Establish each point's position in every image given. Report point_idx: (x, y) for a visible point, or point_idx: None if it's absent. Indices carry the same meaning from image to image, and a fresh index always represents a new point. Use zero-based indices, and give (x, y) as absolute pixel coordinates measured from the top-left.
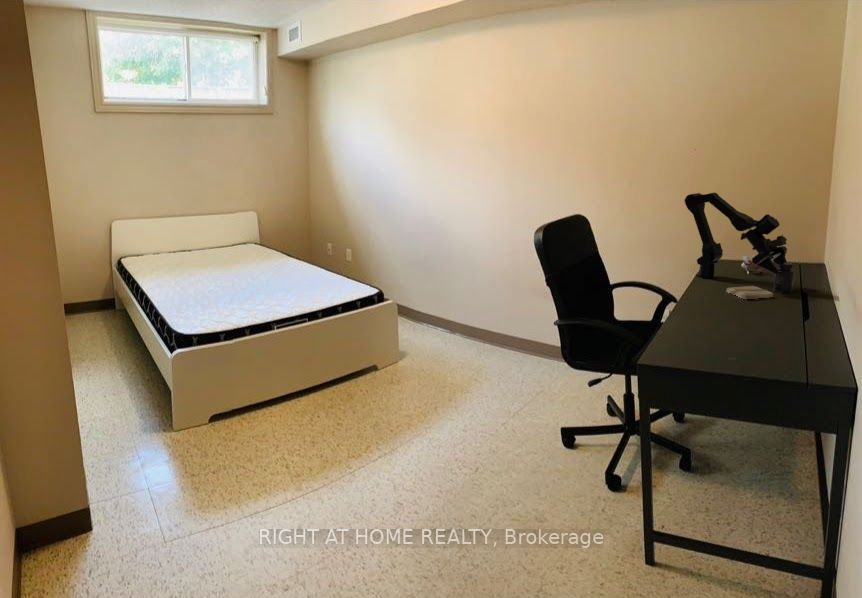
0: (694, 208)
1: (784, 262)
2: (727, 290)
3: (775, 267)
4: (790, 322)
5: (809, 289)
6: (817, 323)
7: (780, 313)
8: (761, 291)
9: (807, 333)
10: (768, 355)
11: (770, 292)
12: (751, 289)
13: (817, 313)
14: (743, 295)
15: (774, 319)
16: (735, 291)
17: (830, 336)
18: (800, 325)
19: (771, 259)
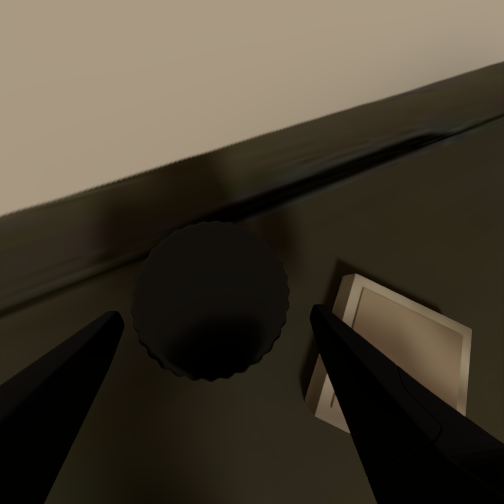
0: None
1: (159, 344)
2: None
3: (350, 340)
4: (482, 150)
5: (110, 237)
6: (436, 113)
7: (452, 189)
8: (378, 317)
9: (501, 109)
10: None
11: (354, 286)
12: None
13: (373, 132)
14: (465, 343)
15: (499, 180)
16: (464, 404)
17: (476, 81)
18: (478, 131)
19: (499, 487)
